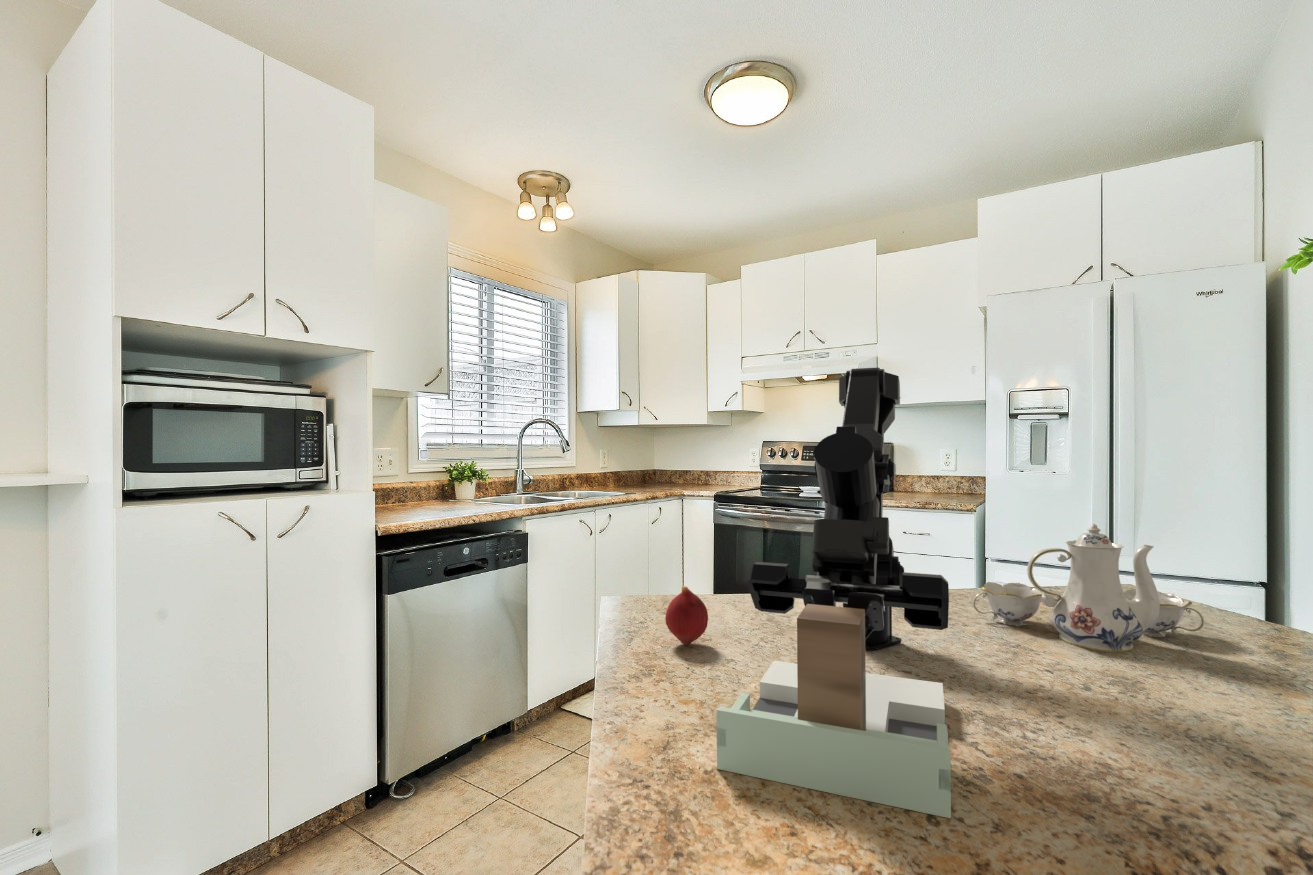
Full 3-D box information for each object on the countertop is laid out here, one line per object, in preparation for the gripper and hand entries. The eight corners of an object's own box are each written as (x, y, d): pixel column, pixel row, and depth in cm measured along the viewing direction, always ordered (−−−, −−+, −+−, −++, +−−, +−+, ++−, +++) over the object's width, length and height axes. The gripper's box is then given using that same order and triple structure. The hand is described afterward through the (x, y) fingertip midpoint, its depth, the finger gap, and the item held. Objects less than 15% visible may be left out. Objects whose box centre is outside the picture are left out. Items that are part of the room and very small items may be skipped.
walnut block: (808, 724, 56) (807, 603, 57) (866, 734, 55) (864, 609, 55) (798, 749, 52) (796, 618, 52) (860, 761, 50) (859, 624, 50)
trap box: (774, 677, 73) (773, 634, 73) (942, 701, 66) (942, 654, 66) (716, 768, 53) (716, 709, 53) (951, 818, 46) (950, 750, 46)
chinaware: (1171, 636, 92) (1164, 523, 94) (1248, 663, 76) (1237, 527, 78) (966, 624, 99) (963, 519, 101) (997, 647, 83) (992, 522, 85)
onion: (708, 638, 88) (708, 581, 88) (707, 652, 82) (707, 591, 82) (667, 637, 88) (667, 581, 88) (664, 651, 82) (663, 590, 83)
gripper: (750, 484, 65) (719, 618, 55) (947, 488, 58) (953, 644, 47) (768, 547, 72) (743, 676, 62) (945, 558, 65) (950, 706, 55)
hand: (837, 675), depth 56 cm, fingers closed
